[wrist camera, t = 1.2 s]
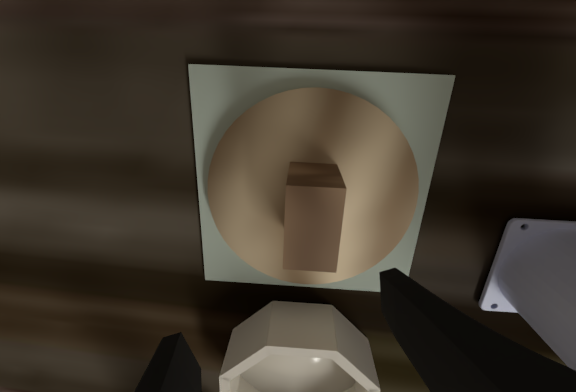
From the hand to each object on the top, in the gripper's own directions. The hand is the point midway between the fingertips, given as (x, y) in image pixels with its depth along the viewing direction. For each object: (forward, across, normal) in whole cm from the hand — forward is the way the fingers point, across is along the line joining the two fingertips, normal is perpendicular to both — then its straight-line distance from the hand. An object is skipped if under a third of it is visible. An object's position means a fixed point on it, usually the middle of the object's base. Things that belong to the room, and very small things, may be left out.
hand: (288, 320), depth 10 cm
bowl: (+10, 0, +16) cm, 19 cm away
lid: (+10, -4, +1) cm, 11 cm away
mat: (+11, -4, +1) cm, 12 cm away
